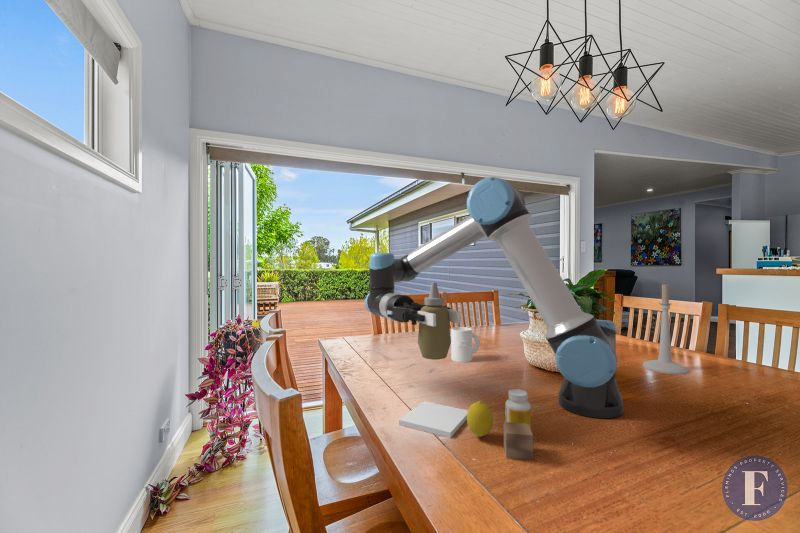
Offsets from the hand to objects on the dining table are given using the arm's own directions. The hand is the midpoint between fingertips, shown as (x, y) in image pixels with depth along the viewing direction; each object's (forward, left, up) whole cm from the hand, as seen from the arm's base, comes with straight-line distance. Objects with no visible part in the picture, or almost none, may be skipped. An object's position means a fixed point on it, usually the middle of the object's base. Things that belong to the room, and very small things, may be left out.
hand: (447, 318), depth 84 cm
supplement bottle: (-15, -5, -26) cm, 30 cm away
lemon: (-8, 0, -26) cm, 27 cm away
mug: (+16, -58, -26) cm, 65 cm away
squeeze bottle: (+4, -3, -10) cm, 11 cm away
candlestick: (-49, -79, -26) cm, 96 cm away
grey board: (+4, -3, -25) cm, 26 cm away
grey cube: (-16, +3, -25) cm, 30 cm away
